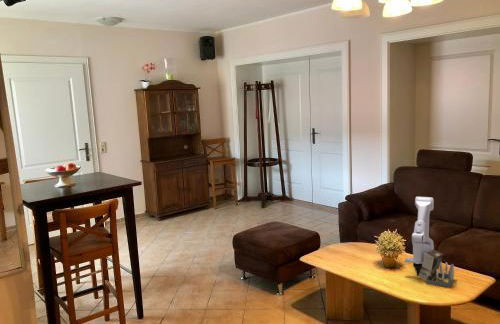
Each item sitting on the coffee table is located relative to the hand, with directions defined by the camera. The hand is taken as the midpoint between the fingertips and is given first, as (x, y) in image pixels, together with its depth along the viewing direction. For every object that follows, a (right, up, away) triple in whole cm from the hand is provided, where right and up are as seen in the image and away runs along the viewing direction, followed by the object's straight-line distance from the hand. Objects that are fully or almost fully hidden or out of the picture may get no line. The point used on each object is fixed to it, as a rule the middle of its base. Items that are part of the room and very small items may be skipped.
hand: (418, 275), depth 235 cm
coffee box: (+4, -1, -2) cm, 5 cm away
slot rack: (+9, -2, -6) cm, 11 cm away
